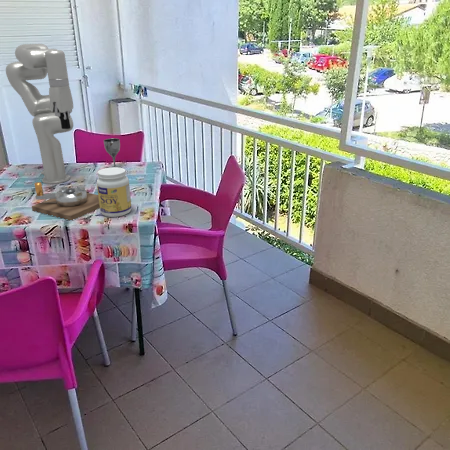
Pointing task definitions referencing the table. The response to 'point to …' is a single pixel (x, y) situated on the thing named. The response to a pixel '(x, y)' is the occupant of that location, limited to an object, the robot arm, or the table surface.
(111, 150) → the wine glass
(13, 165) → the table surface
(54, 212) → the nut board
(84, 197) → the silver and gold piece
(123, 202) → the supplement tub
